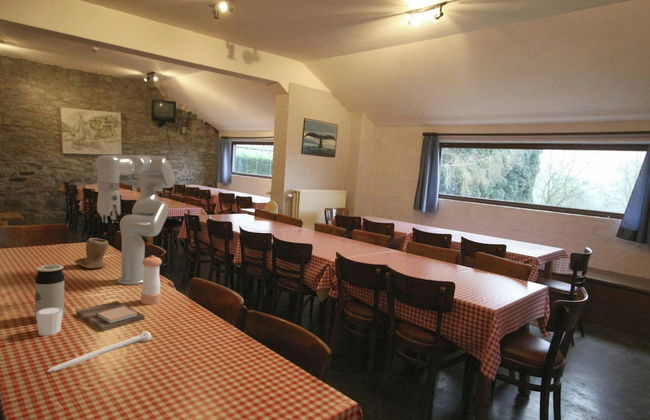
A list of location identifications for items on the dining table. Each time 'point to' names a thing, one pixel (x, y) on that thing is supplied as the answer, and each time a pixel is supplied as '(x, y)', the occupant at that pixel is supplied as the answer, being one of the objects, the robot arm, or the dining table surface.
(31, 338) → the dining table surface
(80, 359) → the white nail
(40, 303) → the travel mug
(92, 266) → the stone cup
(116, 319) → the tile
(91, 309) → the board
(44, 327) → the white cup
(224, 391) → the dining table surface
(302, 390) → the dining table surface
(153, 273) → the salt shaker
